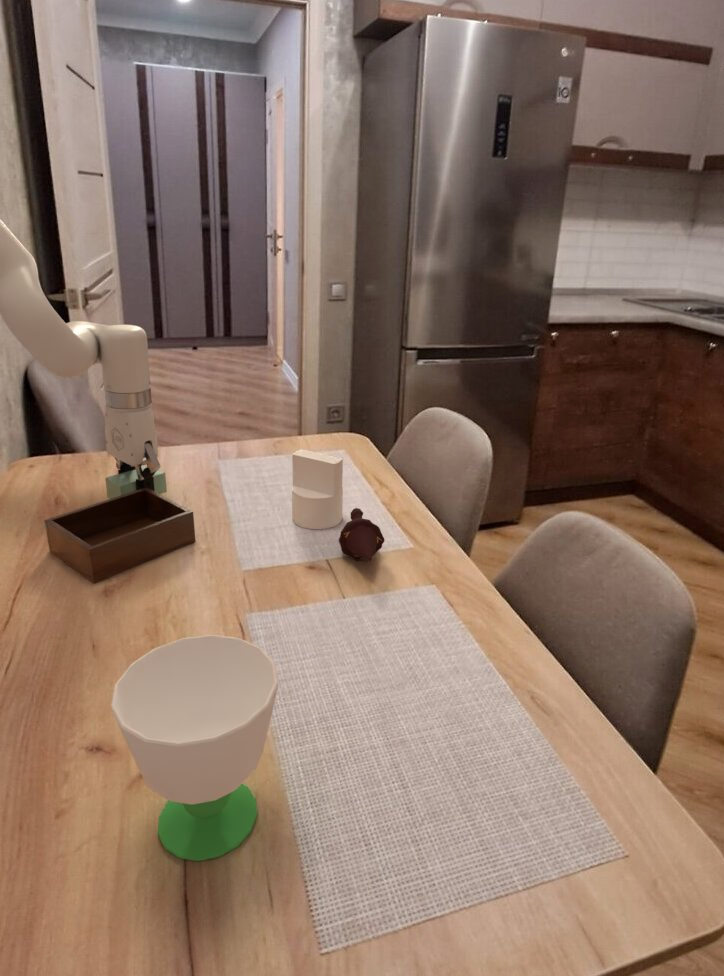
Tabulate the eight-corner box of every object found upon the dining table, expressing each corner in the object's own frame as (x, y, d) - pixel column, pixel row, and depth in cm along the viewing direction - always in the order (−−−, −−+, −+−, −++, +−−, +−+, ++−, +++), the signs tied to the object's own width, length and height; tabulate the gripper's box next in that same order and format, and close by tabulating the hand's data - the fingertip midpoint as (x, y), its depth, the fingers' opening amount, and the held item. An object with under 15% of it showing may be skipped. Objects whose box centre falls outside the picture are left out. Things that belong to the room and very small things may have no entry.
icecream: (399, 542, 101) (378, 507, 115) (352, 534, 99) (337, 499, 113) (386, 583, 103) (368, 543, 116) (340, 575, 100) (327, 536, 114)
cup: (153, 761, 69) (138, 633, 63) (288, 759, 70) (285, 633, 64) (109, 889, 56) (84, 746, 50) (274, 884, 57) (269, 743, 51)
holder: (49, 551, 106) (44, 520, 104) (149, 515, 119) (146, 487, 116) (94, 583, 98) (89, 550, 96) (195, 541, 111) (193, 511, 109)
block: (107, 497, 121) (105, 477, 120) (151, 484, 128) (150, 464, 126) (122, 506, 118) (120, 485, 117) (166, 492, 125) (165, 472, 123)
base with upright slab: (351, 513, 123) (352, 453, 119) (326, 533, 116) (326, 470, 111) (309, 503, 126) (309, 443, 122) (282, 521, 119) (281, 459, 114)
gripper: (82, 390, 118) (93, 484, 125) (136, 413, 108) (145, 514, 115) (122, 383, 124) (130, 474, 130) (176, 405, 114) (182, 501, 121)
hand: (137, 491), depth 123 cm, fingers closed on block, 5 cm apart
